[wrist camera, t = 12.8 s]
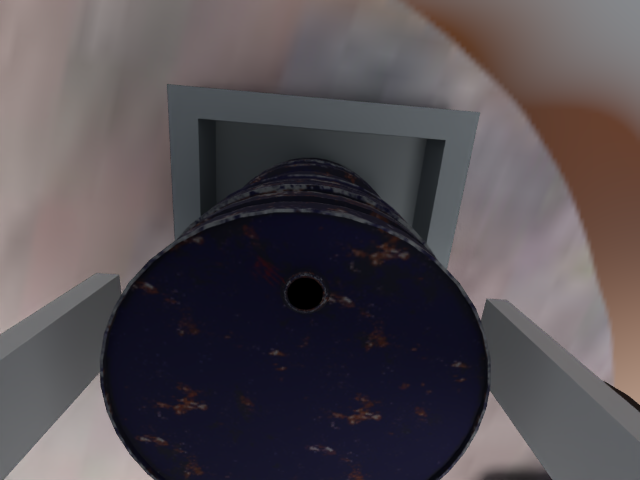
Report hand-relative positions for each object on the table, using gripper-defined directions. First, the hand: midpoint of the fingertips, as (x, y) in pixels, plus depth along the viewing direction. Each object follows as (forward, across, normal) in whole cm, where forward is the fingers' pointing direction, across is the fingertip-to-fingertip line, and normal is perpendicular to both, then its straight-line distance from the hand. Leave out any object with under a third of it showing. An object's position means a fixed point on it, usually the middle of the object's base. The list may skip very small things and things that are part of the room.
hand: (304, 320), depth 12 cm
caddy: (+12, 0, 0) cm, 12 cm away
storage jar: (+11, 0, 0) cm, 11 cm away
